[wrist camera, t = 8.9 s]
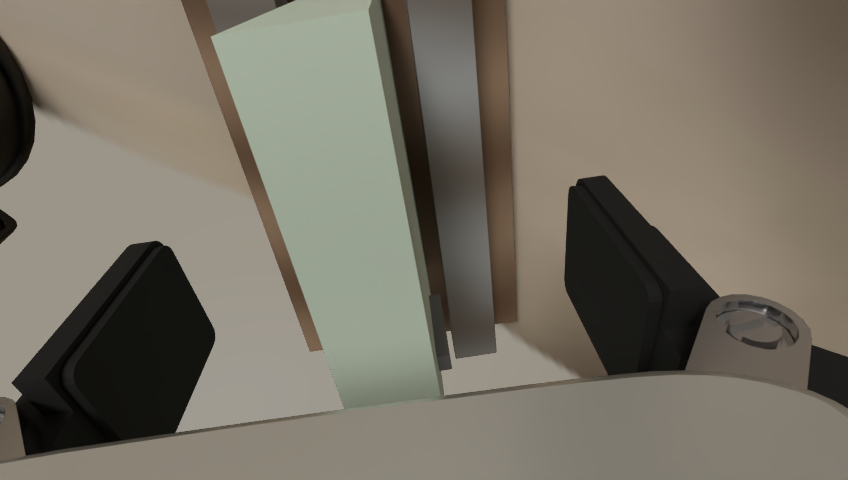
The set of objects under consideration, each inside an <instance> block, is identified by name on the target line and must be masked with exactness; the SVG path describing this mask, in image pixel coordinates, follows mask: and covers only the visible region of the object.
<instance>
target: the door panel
mask: <svg viewBox="0 0 848 480" xmlns="http://www.w3.org/2000/svg"><path fill="white" fill-rule="evenodd" d="M211 39H212V42H213V45H214V48H215V50H216V53H217V56H218V59H219V61H220V64H221V67H222V70H223V73H224V75H225V78H226V81H227V84H228V86H229V89H230V92H231V95H232V98H233V100H234V103H235V106H236V109H237V111H238V114H239V117H240V120H241V123H242V125H243V128H244V131H245V134H246V136H247V139H248V142H249V145H250V148H251V150H252V153H253V156H254V159H255V161H256V164H257V167H258V170H259V173H260V175H261V178H262V181H263V184H264V186H265V189H266V192H267V195H268V198H269V200H270V203H271V206H272V209H273V211H274V214H275V217H276V220H277V223H278V225H279V228H280V231H281V234H282V236H283V239H284V242H285V245H286V248H287V250H288V253H289V256H290V259H291V261H292V264H293V267H294V270H295V273H296V275H297V278H298V281H299V284H300V286H301V289H302V292H303V295H304V298H305V300H306V303H307V306H308V309H309V311H310V314H311V317H312V320H313V323H314V325H315V328H316V331H317V334H318V336H319V339H320V342H321V345H322V348H323V350H324V353H325V356H326V359H327V361H328V364H329V367H330V370H331V372H332V375H333V378H334V381H335V384H336V386H337V389H338V392H339V395H340V398H341V400H342V403H343V406H344V408H345V409H350V408H357V407H364V406H372V405H379V404H386V403H394V402H401V401H409V400H416V399H424V398H431V397H439V396H444V391H443V383H442V375H441V370H448V369H452V366H451V360H450V354H449V348H448V341H447V335H446V329H445V323H444V317H443V310H442V304H441V298H440V294H436V295H431V293H430V285H429V278H428V270H427V264H426V258H425V253H424V247H423V241H422V235H421V229H420V224H419V218H418V212H417V206H416V200H415V195H414V189H413V183H412V177H411V171H410V166H409V160H408V154H407V148H406V143H405V137H404V131H403V125H402V119H401V114H400V108H399V102H398V96H397V90H396V85H395V79H394V73H393V67H392V61H391V56H390V50H389V44H388V38H387V32H386V27H385V21H384V15H383V9H382V4H381V0H295V1H293V2H290V3H288V4H286V5H283V6H281V7H279V8H276V9H274V10H272V11H269V12H267V13H265V14H262V15H260V16H258V17H255V18H253V19H251V20H248V21H246V22H244V23H241V24H239V25H237V26H234V27H232V28H230V29H227V30H225V31H223V32H220V33H218V34H216V35H213V36H211Z"/></svg>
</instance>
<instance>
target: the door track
mask: <svg viewBox="0 0 848 480" xmlns="http://www.w3.org/2000/svg"><path fill="white" fill-rule="evenodd" d="M293 1H295V0H181V2H182V4H183V7H184V10H185V12H186V15H187V18H188V21H189V23H190V26H191V29H192V31H193V34H194V37H195V40H196V42H197V45H198V48H199V51H200V53H201V56H202V59H203V61H204V64H205V67H206V70H207V72H208V75H209V78H210V81H211V83H212V86H213V89H214V91H215V94H216V97H217V100H218V102H219V105H220V108H221V110H222V113H223V116H224V119H225V121H226V124H227V127H228V130H229V132H230V135H231V138H232V140H233V143H234V146H235V149H236V151H237V154H238V157H239V160H240V162H241V165H242V168H243V170H244V173H245V176H246V179H247V181H248V184H249V187H250V189H251V192H252V195H253V198H254V200H255V203H256V206H257V209H258V211H259V214H260V217H261V219H262V222H263V225H264V228H265V230H266V233H267V236H268V239H269V241H270V244H271V247H272V249H273V252H274V255H275V258H276V260H277V263H278V266H279V268H280V271H281V273H282V277H283V279H284V282H285V285H286V288H287V290H288V293H289V296H290V298H291V301H292V304H293V307H294V309H295V312H296V315H297V318H298V320H299V323H300V326H301V328H302V331H303V334H304V337H305V339H306V342H307V345H308V347H309V350H310V351H317V350H323V348H322V345H321V342H320V339H319V336H318V334H317V331H316V328H315V325H314V323H313V320H312V317H311V314H310V311H309V309H308V306H307V303H306V300H305V298H304V295H303V292H302V289H301V286H300V284H299V281H298V278H297V275H296V273H295V270H294V267H293V264H292V261H291V259H290V256H289V253H288V250H287V248H286V245H285V242H284V239H283V236H282V234H281V231H280V228H279V225H278V223H277V220H276V217H275V214H274V211H273V209H272V206H271V203H270V200H269V198H268V195H267V192H266V189H265V186H264V184H263V181H262V178H261V175H260V173H259V170H258V167H257V164H256V161H255V159H254V156H253V153H252V150H251V148H250V145H249V142H248V139H247V136H246V134H245V131H244V128H243V125H242V123H241V120H240V117H239V114H238V111H237V109H236V106H235V103H234V100H233V98H232V95H231V92H230V89H229V86H228V84H227V81H226V78H225V75H224V73H223V70H222V67H221V64H220V61H219V59H218V56H217V53H216V50H215V48H214V45H213V42H212V39H211V36H213V35H216V34H218V33H220V32H223V31H225V30H227V29H230V28H232V27H234V26H237V25H239V24H241V23H244V22H246V21H248V20H251V19H253V18H255V17H258V16H260V15H262V14H265V13H267V12H269V11H272V10H274V9H276V8H279V7H281V6H283V5H286V4H288V3H290V2H293ZM381 4H382V9H383V15H384V21H385V27H386V32H387V38H388V44H389V50H390V56H391V61H392V67H393V73H394V79H395V85H396V90H397V96H398V102H399V108H400V114H401V119H402V125H403V131H404V137H405V143H406V148H407V154H408V160H409V166H410V171H411V177H412V183H413V189H414V195H415V200H416V206H417V212H418V218H419V224H420V229H421V235H422V241H423V247H424V253H425V258H426V264H427V270H428V278H429V285H430V293H431V295H436V294H440V298H441V304H442V310H443V317H444V323H445V329H446V331H451V333H452V339H453V345H454V351H455V356H456V359H457V358H463V357H470V356H477V355H482V354H490V353H496V339H495V324H498V323H504V322H511V321H517V306H516V278H515V251H514V224H513V196H512V169H511V141H510V114H509V86H508V59H507V31H506V4H505V0H381Z"/></svg>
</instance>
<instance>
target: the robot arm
mask: <svg viewBox="0 0 848 480" xmlns="http://www.w3.org/2000/svg"><path fill="white" fill-rule="evenodd" d="M564 281H565V287H566V291H567V293H568V295H569V297H570V299H571V301H572V303H573V305H574V307H575V309H576V311H577V313H578V315H579V317H580V319H581V321H582V323H583V325H584V327H585V329H586V331H587V333H588V335H589V337H590V339H591V341H592V343H593V345H594V347H595V349H596V351H597V353H598V355H599V357H600V359H601V361H602V363H603V365H604V367H605V369H606V371H607V373H608V375H607V376H597V377H587V378H579V379H571V380H564V381H556V382H548V383H539V384H530V385H523V386H516V387H507V388H500V389H492V390H485V391H477V392H470V393H462V394H454V395H447V396H439V397H431V398H424V399H416V400H409V401H401V402H394V403H386V404H379V405H372V406H364V407H357V408H350V409H343V410H335V411H328V412H320V413H314V414H306V415H300V416H292V417H284V418H278V419H270V420H263V421H255V422H248V423H241V424H235V425H227V426H220V427H213V428H207V429H199V430H192V431H185V432H179V433H175V432H176V430H177V428H178V425H179V423H180V421H181V418H182V416H183V414H184V412H185V409H186V407H187V404H188V402H189V400H190V398H191V396H192V393H193V391H194V389H195V386H196V384H197V382H198V379H199V377H200V375H201V373H202V370H203V368H204V365H205V363H206V361H207V359H208V356H209V354H210V352H211V350H212V347H213V345H214V342H215V331H214V328H213V326H212V324H211V322H210V320H209V318H208V317H207V315H206V313H205V311H204V309H203V307H202V305H201V303H200V302H199V300H198V298H197V296H196V294H195V292H194V290H193V288H192V286H191V285H190V283H189V281H188V279H187V277H186V275H185V273H184V272H183V270H182V268H181V266H180V264H179V262H178V260H177V259H176V256H175V255H174V253H173V251H172V250H171V248H170V247H168V246H164V245H163V244H162V243H160V242H158V241H152V242H145V243H139V244H132V245H130V246H128V247H127V248H126V249H125V251H124V252H123V253H122V254H121V255H120V257H119V258H118V259H117V260H116V261H115V262H114V263H113V265H112V266H111V267H110V268H109V270H108V271H107V272H106V273H105V274H104V275H103V276H102V278H101V279H100V280H99V281H98V282H97V283H96V285H95V286H94V287H93V288H92V289H91V290H90V292H89V293H88V294H87V295H86V296H85V297H84V299H83V300H82V301H81V302H80V303H79V305H78V306H77V307H76V308H75V309H74V310H73V312H72V313H71V314H70V315H69V316H68V318H67V319H66V320H65V321H64V322H63V323H62V325H61V326H60V327H59V328H58V329H57V330H56V331H55V333H54V334H53V335H52V336H51V338H50V339H49V340H48V341H47V342H46V343H45V344H44V346H43V347H42V348H41V349H40V350H39V351H38V353H37V354H36V355H35V356H34V357H33V358H32V360H31V361H30V362H29V363H28V364H27V365H26V367H25V368H24V369H23V370H22V372H21V373H20V374H19V375H18V376H17V377H16V378H15V380H14V381H13V382H12V384H13V385H14V386H15V387H16V388H17V389H18V390H19V391H20V392H21V393H22V396H21V397H20V398H19V399H18V401H17V402H16V403H15V402H14V401H13V400H12V399H9V398H6V397H0V480H848V357H846V356H843V355H840V354H837V353H834V352H831V351H828V350H825V349H822V348H819V347H816V346H813V345H812V336H811V331H810V328H809V327H808V326H807V324H806V323H805V321H804V320H803V319H802V318H801V317H800V316H798V315H797V314H796V313H795V312H793V311H792V310H791V309H789V308H787V307H785V306H783V305H781V304H779V303H777V302H774V301H772V300H769V299H766V298H763V297H758V296H752V295H747V294H731V295H727V296H722V297H719V296H718V294H717V293H716V292H715V291H714V290H713V289H712V288H711V287H710V286H709V285H708V284H707V282H706V281H705V280H704V279H703V278H702V277H701V276H700V275H699V274H698V273H697V272H696V271H695V269H694V268H693V267H692V266H691V265H690V264H689V263H688V262H687V261H686V260H685V259H684V257H683V256H682V255H681V254H680V253H679V252H678V251H677V250H676V249H675V248H674V247H673V246H672V244H671V243H670V242H669V241H668V240H667V239H666V238H665V237H664V236H663V235H662V234H661V232H660V231H659V230H658V229H656V228H655V227H654V226H651V225H650V224H649V223H648V222H647V221H646V220H645V219H644V217H643V216H642V215H641V214H640V213H639V212H638V211H637V210H636V209H635V208H634V206H633V205H632V204H631V203H630V202H629V201H628V200H627V199H626V198H625V197H624V195H623V194H622V193H621V192H620V191H619V190H618V189H617V188H616V187H615V186H614V184H613V183H612V182H611V181H610V180H609V179H608V178H607V177H606V176H605V175H604V176H596V177H589V178H582V179H579V180H578V181H577V183H576V186H571V187H570V188H569V193H568V213H567V234H566V255H565V276H564Z"/></svg>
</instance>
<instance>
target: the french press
mask: <svg viewBox="0 0 848 480" xmlns="http://www.w3.org/2000/svg"><path fill="white" fill-rule="evenodd" d="M34 136H35V116H34V110H33V104H32V99H31V96H30V93H29V91H28V88H27V85H26V83H25V80H24V78H23V75H22V73H21V71H20V69H19V68H18V66H17V64H16V63H15V61H14V59H13V57H12V56H11V54H10V52H9V51H8V49H7V47H6V46H5V45H4V44H3V42H2V41H1V40H0V187H1V186H3V185H4V184H5V183H7V182H8V181H9V180H11V179H12V178H13V177H15V176H16V175H17V174H18V173H19V171H20V170H21V169H22V167H23V166H24V164H25V163H26V162H27V160H28V158H29V155H30V152H31V149H32V147H33V143H34ZM16 227H17V223H16V221H15V220H14V219H13V218H12V217H10V216H9V215H8V214H6V213H5V212H3V211H2V210H0V244H1V243H2V242H3V241H4V240H5V239H6V238H7V237H8V236H9V235H10V234H11V233H13V231H14V230H15V229H16Z"/></svg>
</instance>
